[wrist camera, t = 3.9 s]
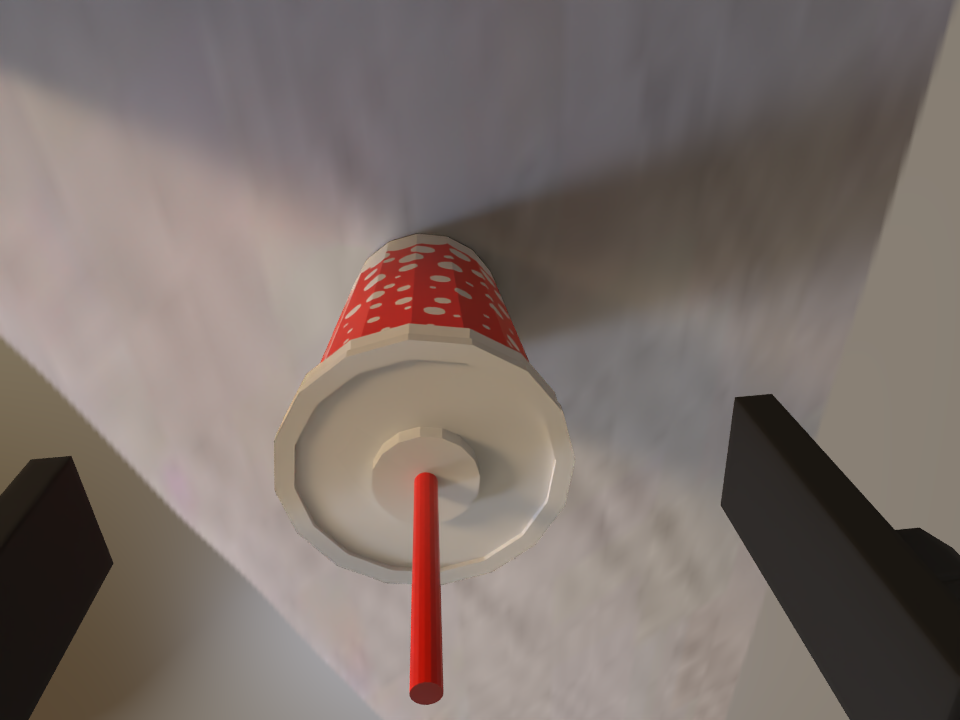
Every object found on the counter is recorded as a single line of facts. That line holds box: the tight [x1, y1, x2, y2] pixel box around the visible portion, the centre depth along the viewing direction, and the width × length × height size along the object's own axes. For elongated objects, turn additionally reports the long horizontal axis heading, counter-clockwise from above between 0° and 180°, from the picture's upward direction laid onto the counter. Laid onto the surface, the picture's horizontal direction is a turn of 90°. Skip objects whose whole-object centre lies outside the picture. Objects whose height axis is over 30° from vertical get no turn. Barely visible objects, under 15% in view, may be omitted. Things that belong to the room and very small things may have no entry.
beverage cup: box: [274, 234, 575, 705], centre depth 16 cm, size 6×6×14 cm
